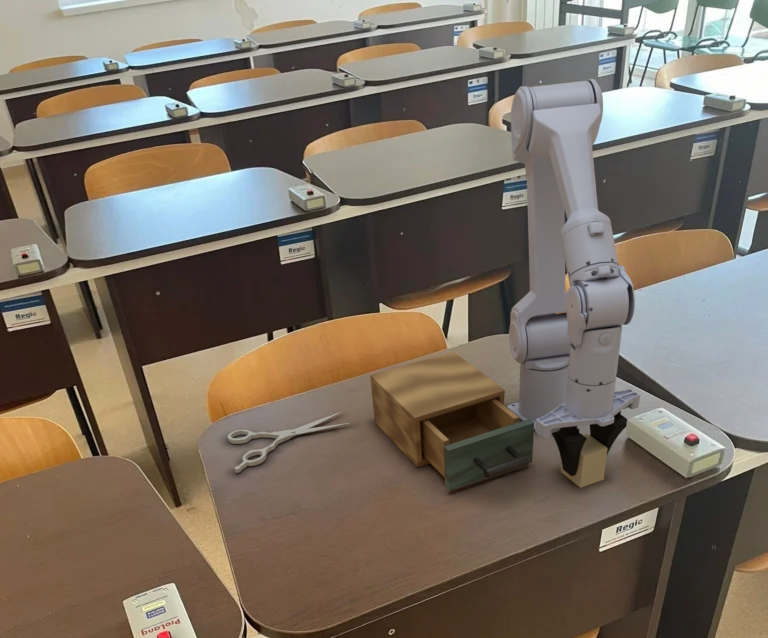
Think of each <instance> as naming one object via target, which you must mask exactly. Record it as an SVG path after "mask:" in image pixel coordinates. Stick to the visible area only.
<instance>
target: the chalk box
mask: <svg viewBox="0 0 768 638" xmlns="http://www.w3.org/2000/svg"><path fill="white" fill-rule="evenodd" d="M581 434H582V435H583V436H585V437H586V438H587V440H586V441H585V443H584V445H583V447H582V450H581V453H580V457H579V465H578V470H577V473H576V475H574V476H570V475H569V474H568V473H567V472H566V471H564V470H563V467H562V462H560V463H561V464H560V473H561V474H563V476H565V477H566V478H568V479H569V480H570V481H571V482H572V483H573V484H575V485H576V486H577V487H579V489H582V488H584V487H587V486H590V485H593V484H595V483H598V482H601V481H604V480H605V472H606V465H607V457H608V455H607V449H608V448H607V447H605V446H604V445H603V444H601V443H600V442H598V441H597V440H596V439H594V438H593V437H592V436H590V433H587V432H586V433H581Z"/></svg>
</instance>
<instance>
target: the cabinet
mask: <svg viewBox="0 0 768 638" xmlns="http://www.w3.org/2000/svg"><path fill="white" fill-rule="evenodd" d="M369 376H370V389H371V397H372V407H373V417H374V423H375V424H376V425H377V427H379V428H380V430H381V431H382V432H383V433H384V434H385V435H387V438H388V439H390V440H391V441H392V442H393V443H394V445H396V446H397V447H398V449H399V450H400V451H401V452H402V453H403V454H404V455H405V456H406V457H407V458H408V459H409V460H410V461H411V463H413V465H414V466H415V467H416V468H421V467H424V466H426V465H430V464H431V463H430V462H429V461H428V460H427V459H426V458H425V457H424V456H423V455H422V450H421V432H420V421H422V420H425V419H428V418H432V417H435V416H438V415H441V414H445V413H448V412H451V411H454V410H458V409H461V408H464V407H467V406H471V405H474V404H477V403H480V402H483V401H487V400H490V399H493V398H495V399H496V400H498V401H499V402H500V403H502V404H503V405H504V406H505V394H506V391H505V389H504V388H503V387H501V386H500V385H499V384H497V383H496V382H495V381H493V380H492V379H490V378H489V377H488V376H487V375H486V374H484V373H483V372H481V371H480V370H479V369H477V368H476V367H474V366H473V365H472V364H471V363H469V362H468V361H467V360H466V359H464V358H463V357H462V356H460V355H459V354H458V353H457V352H455V351H450V352H447V353H444V354H441V355H440V354H439V355H437V356H433V357H429V358H425V359H422V360H419V361H416V362H412V363H409V364H405V365H402V366H397V367H394V368H390V369H387V370H384V371H380V372H376V373H373V374H370V375H369Z"/></svg>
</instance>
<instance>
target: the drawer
mask: <svg viewBox="0 0 768 638" xmlns="http://www.w3.org/2000/svg"><path fill="white" fill-rule="evenodd" d="M420 432H421V450H422V455H423V456H424V457H425V458H426V459H427V460H428V461H429V462H430V464H431V466H432V467H434V468H435V470H437V472H439V474H440V475H441V476H442V477H443V478H444V486H445V488H446V489H447V490H448V491H453V490H455V489H456V490H457V489H459V488H461V487H464V486H467V485H470V484H473V483H476V482H478V481H482V480H484V479H486V480H490V479H492V478H495V477H498V476H501V475H504V474H508V473H510V472H512V471H516V470H519V469H521V468H525V467H527V466H529V464H531V463H533V457H534V456H533V455H534V454H533V453H534V436H535V435H534V434H535V430H534V422H533V421H531V420H530V419H527V420H524V421H522V420H521V421H520V418H519V417H518V416H517V415H516V414H514V413H513V412H512V411H511V410H509V409H508V408H507V406H506V405H505V404H504V405H503V404H502V403H500V402H499V401H498V400H496V399H495V398H493V399H490V400H487V401H483V402H480V403H477V404H474V405H471V406H467V407H464V408H461V409H458V410H454V411H451V412H448V413H445V414H441V415H438V416H435V417H432V418H428V419H425V420H422V421H420Z"/></svg>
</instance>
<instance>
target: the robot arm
mask: <svg viewBox="0 0 768 638" xmlns="http://www.w3.org/2000/svg"><path fill="white" fill-rule="evenodd" d="M603 114H604V97H603V92H602V88H601V87H600V85H599V83H598V82H597V80H596V79H594V78H586V79H585V80H580V81H572V82H564V83H554V84H545V85H535V86H526V85H524V86H519V88H517V90H516V92H515V93H514V95H513V98H512V104H511V108H510V131H511V132H510V135H511V139H510V140H511V151H512V155H513V157H512V158H513V160H514V161H515V162H516V161H517V162H519V163H521V164H524V170H525V177H526V193H527V195H526V198H527V200H526V201H527V202H526V203H527V230H528V231H527V232H528V266H529V267H528V271H529V292H528V293H527V294H526V295H524V296H523V297H522V298H521V299H520V300H519V301H518V302H517V303H515V305H513V307H512V308H511V312H510V324H509V329H508V345H509V350H510V353H511V356H512V358H513V359H514V360H515V361H516V362H517V363H519V387H518V388H519V390H518V402H513V403H511V404H508V405H507V406H506V407H507V408H508V409H509V410H511V411H512V412H513V413H514V414H516V415H517V416H518V417H519V420H521V421H524V420H527V419H530V420H531V421H533V422H534V433H535V434H537V435H538V436H539V437H541V438H542V439H543V440H545V439H549V438H550V437H551V435H552V437H553V439H554V441H555V444H556V446H557V449H558V452H559V456H560V462H561V463H562V467H563V470H564V471H566V472H567V473H568V474H569V475H570V476H574V475H576V473H577V470H578V465H579V457H580V453H581V450H582V447H583V445H584V443H585V441H586V440H587V438H586V437H585V436H583V435H582V434H583V433H581V432H580V428H578V427H580V426H589V435H590V436H592V437H593V438H594V439H596V440H597V441H598V442H600V443H601V444H603V445H604V446H605V447H607V448H608V449H607V456H608V454H609V452H610V450H611V448H612V446H613V444H615V441H616V440H617V438H618V437H619V435H620V434H621V433H622V432H623V431H624V430H625V429H626V428H627V426H628V418H627V417H626V416H624V415H623V414H622V410H626V409H630V410H636V409H638V408H639V406H640V398H641V394H640V393H638V392H637V391H635V390H633V388H632V389H631V388H627V389H624V390H615V389H616V384H617V383H616V381H617V375H618V374H617V373H618V367H619V366H618V364H619V359H620V349H621V343H622V342H621V341H622V334H623V327H622V326H627V325H629V324H630V323H631V321H632V320H633V318H634V314H635V306H636V296H635V295H636V294H635V289H634V283H633V280H632V279H631V277H630V276H629V275H628V273H627V271H626V267H625V266H624V265H620V264H619V258H618V253H617V249H616V242H615V238H614V232H613V227H612V222H611V219H610V217H609V216H608V215H607V214H604V213H603V212H601V211H600V210H599V204H598V195H597V182H596V173H595V163H594V153H593V145H594V144H595V143H596V140H597V138H598V135H599V132H600V128H601V127H600V126H601V123H602V119H603ZM565 215H566V217H565ZM565 218H567V221H565ZM566 273H567V278H568V283H569V284H568V285H569V287H568V290H567V291H566Z"/></svg>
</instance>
